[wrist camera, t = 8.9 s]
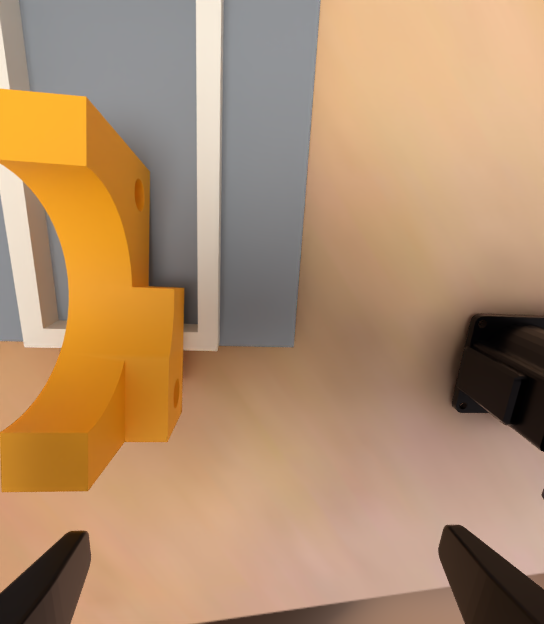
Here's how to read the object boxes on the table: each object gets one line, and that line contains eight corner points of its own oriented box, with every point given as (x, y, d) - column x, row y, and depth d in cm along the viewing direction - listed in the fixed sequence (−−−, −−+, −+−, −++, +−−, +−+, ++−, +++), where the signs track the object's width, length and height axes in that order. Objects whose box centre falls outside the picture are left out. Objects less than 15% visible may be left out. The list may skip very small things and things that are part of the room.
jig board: (319, -28, 15) (331, -69, 13) (291, 342, 20) (297, 357, 18) (-116, -84, 13) (-185, -142, 11) (-31, 334, 18) (-68, 350, 16)
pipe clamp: (181, 411, 17) (144, 490, 11) (94, 410, 17) (1, 492, 10) (186, 174, 16) (149, 102, 10) (94, 167, 16) (-11, 87, 9)
